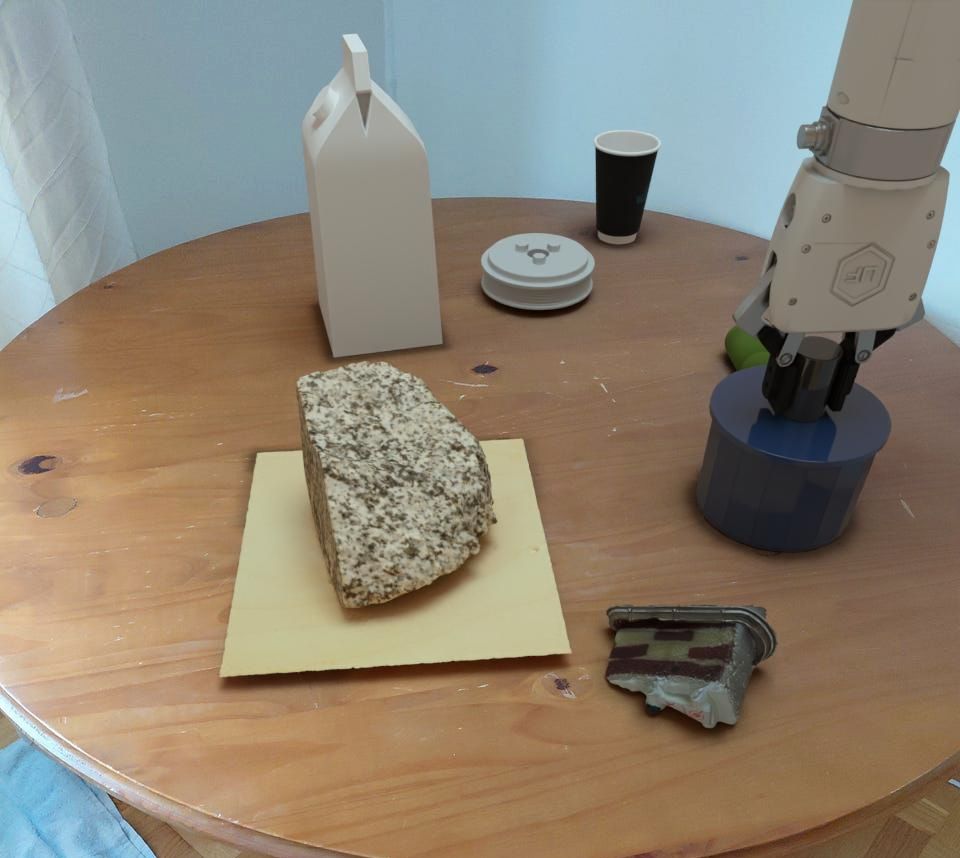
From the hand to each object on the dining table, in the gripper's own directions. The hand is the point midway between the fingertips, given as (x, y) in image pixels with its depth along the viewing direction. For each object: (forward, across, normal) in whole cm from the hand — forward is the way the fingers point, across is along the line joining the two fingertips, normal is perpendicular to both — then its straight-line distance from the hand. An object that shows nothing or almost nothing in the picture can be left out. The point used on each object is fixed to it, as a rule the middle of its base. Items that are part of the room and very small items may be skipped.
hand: (802, 401), depth 68 cm
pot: (+10, 0, 0) cm, 10 cm away
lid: (+10, -15, +40) cm, 44 cm away
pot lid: (+1, 0, 0) cm, 1 cm away
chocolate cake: (+10, -13, -19) cm, 25 cm away
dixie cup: (+10, -3, +54) cm, 55 cm away
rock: (+10, -32, -3) cm, 34 cm away
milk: (+10, -33, +34) cm, 48 cm away
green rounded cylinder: (+10, +4, +21) cm, 24 cm away
